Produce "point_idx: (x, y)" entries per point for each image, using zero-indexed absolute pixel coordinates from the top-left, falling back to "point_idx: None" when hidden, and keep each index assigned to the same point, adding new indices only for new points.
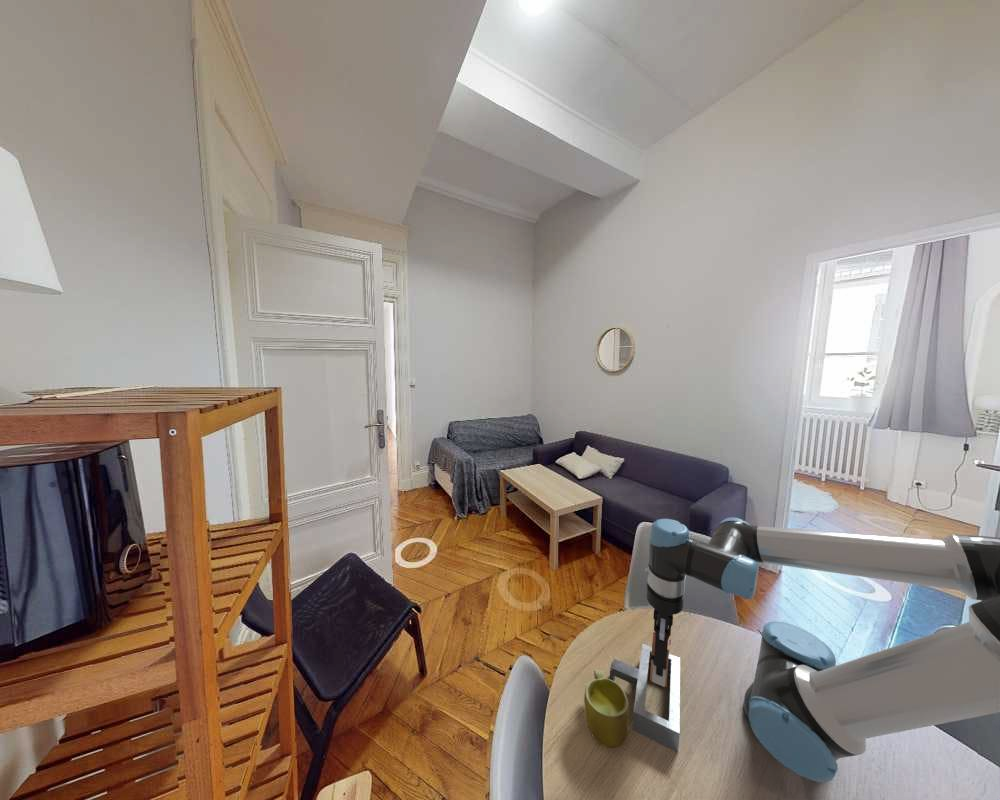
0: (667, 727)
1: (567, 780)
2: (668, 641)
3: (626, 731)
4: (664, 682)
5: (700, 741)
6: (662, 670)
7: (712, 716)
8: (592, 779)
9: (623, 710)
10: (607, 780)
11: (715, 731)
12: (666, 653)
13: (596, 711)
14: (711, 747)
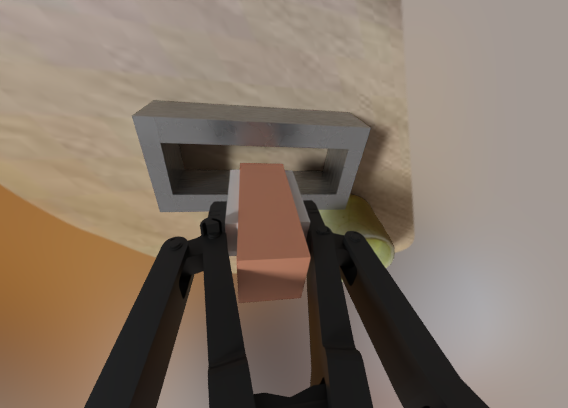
0: (362, 152)
1: (404, 238)
2: (263, 263)
3: (359, 203)
4: (294, 179)
5: (314, 60)
6: (320, 217)
7: (235, 11)
8: (401, 218)
9: (383, 240)
10: (401, 204)
11: (276, 11)
12: (409, 305)
13: (385, 266)
14: (320, 32)
